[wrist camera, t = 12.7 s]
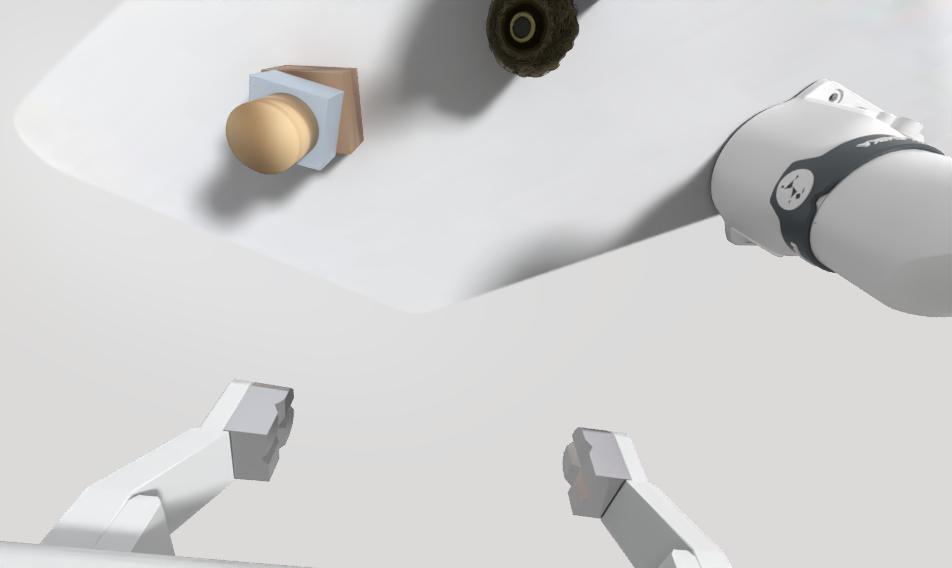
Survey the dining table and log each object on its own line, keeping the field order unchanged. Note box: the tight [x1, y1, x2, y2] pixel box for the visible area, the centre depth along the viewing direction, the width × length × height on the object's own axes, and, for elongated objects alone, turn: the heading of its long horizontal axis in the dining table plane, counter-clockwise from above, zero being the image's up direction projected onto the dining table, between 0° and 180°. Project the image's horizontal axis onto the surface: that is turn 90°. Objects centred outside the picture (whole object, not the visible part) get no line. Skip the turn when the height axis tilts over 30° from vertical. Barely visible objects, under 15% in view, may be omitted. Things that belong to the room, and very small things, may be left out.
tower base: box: [261, 65, 363, 154], centre depth 41 cm, size 7×7×6 cm
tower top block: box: [249, 70, 344, 171], centre depth 37 cm, size 6×6×5 cm
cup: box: [486, 0, 579, 77], centre depth 37 cm, size 8×7×8 cm
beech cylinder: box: [226, 93, 319, 174], centre depth 32 cm, size 5×5×5 cm
